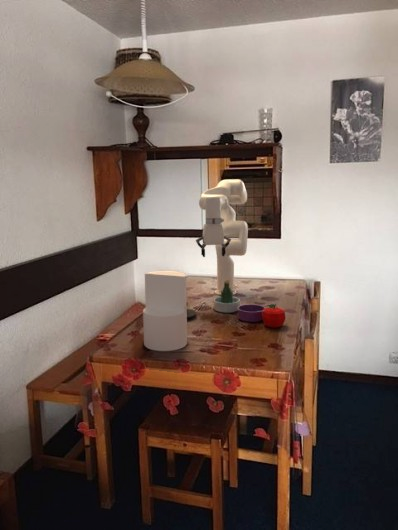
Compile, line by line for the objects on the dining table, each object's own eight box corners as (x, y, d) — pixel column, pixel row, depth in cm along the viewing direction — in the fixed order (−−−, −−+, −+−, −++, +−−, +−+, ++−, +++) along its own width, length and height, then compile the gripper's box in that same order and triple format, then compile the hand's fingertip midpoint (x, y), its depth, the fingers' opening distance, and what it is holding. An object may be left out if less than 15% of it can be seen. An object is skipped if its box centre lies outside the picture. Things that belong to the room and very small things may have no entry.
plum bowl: (248, 312, 223) (248, 302, 222) (270, 317, 215) (271, 307, 214) (231, 318, 214) (232, 308, 213) (254, 324, 205) (254, 313, 204)
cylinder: (156, 333, 194) (154, 269, 189) (193, 338, 188) (193, 272, 183) (136, 347, 179) (133, 277, 173) (175, 353, 172) (174, 281, 167)
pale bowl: (224, 304, 238) (224, 295, 237) (244, 309, 230) (245, 299, 229) (208, 309, 229) (208, 300, 228) (228, 314, 220) (228, 304, 219)
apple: (280, 321, 210) (280, 300, 208) (289, 328, 200) (290, 306, 198) (258, 322, 208) (258, 301, 206) (266, 330, 197) (266, 307, 195)
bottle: (225, 305, 233) (225, 279, 231) (235, 308, 229) (235, 280, 227) (218, 308, 229) (218, 281, 226) (227, 310, 225) (227, 283, 222)
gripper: (229, 220, 225) (228, 254, 229) (194, 221, 223) (194, 255, 226) (232, 221, 218) (232, 256, 221) (196, 222, 216) (197, 258, 219)
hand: (213, 256), depth 224 cm, fingers open, 9 cm apart
